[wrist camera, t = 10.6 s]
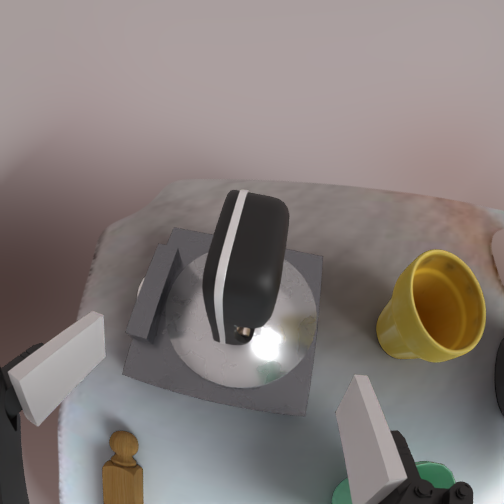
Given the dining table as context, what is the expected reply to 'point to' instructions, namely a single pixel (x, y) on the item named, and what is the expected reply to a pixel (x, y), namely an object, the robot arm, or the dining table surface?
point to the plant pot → (433, 310)
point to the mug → (427, 471)
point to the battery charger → (244, 265)
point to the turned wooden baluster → (122, 472)
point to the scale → (213, 353)
